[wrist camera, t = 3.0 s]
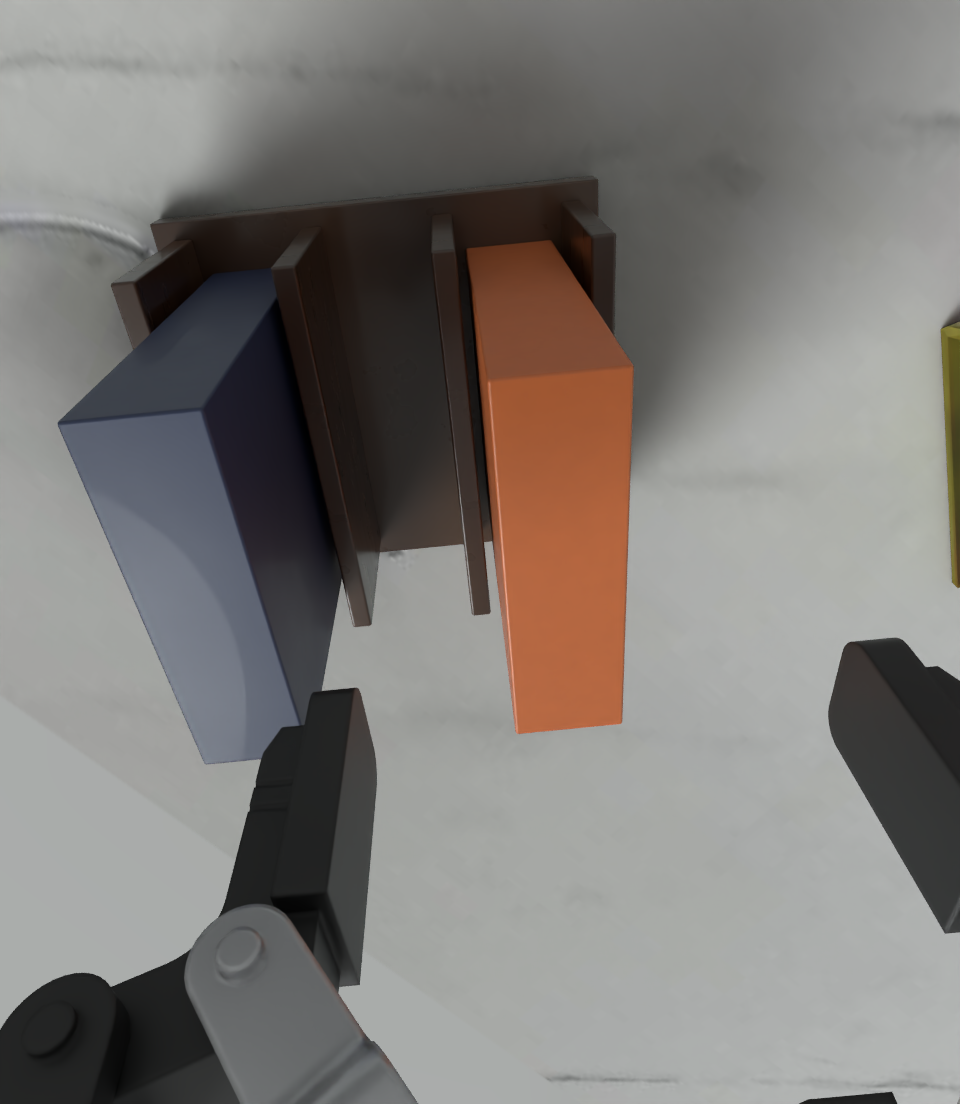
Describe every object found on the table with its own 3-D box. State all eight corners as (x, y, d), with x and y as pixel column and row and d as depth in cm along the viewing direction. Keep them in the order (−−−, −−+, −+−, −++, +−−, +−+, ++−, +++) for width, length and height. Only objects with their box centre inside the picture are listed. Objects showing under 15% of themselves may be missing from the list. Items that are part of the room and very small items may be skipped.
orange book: (488, 507, 27) (515, 735, 18) (464, 248, 22) (486, 379, 13) (558, 500, 27) (622, 724, 18) (551, 239, 22) (634, 364, 13)
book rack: (258, 553, 29) (222, 653, 24) (157, 219, 22) (79, 263, 17) (593, 520, 29) (625, 613, 24) (593, 175, 22) (638, 207, 17)
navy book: (282, 527, 27) (204, 765, 18) (212, 273, 22) (55, 422, 13) (352, 520, 27) (311, 755, 18) (298, 264, 22) (202, 408, 13)
